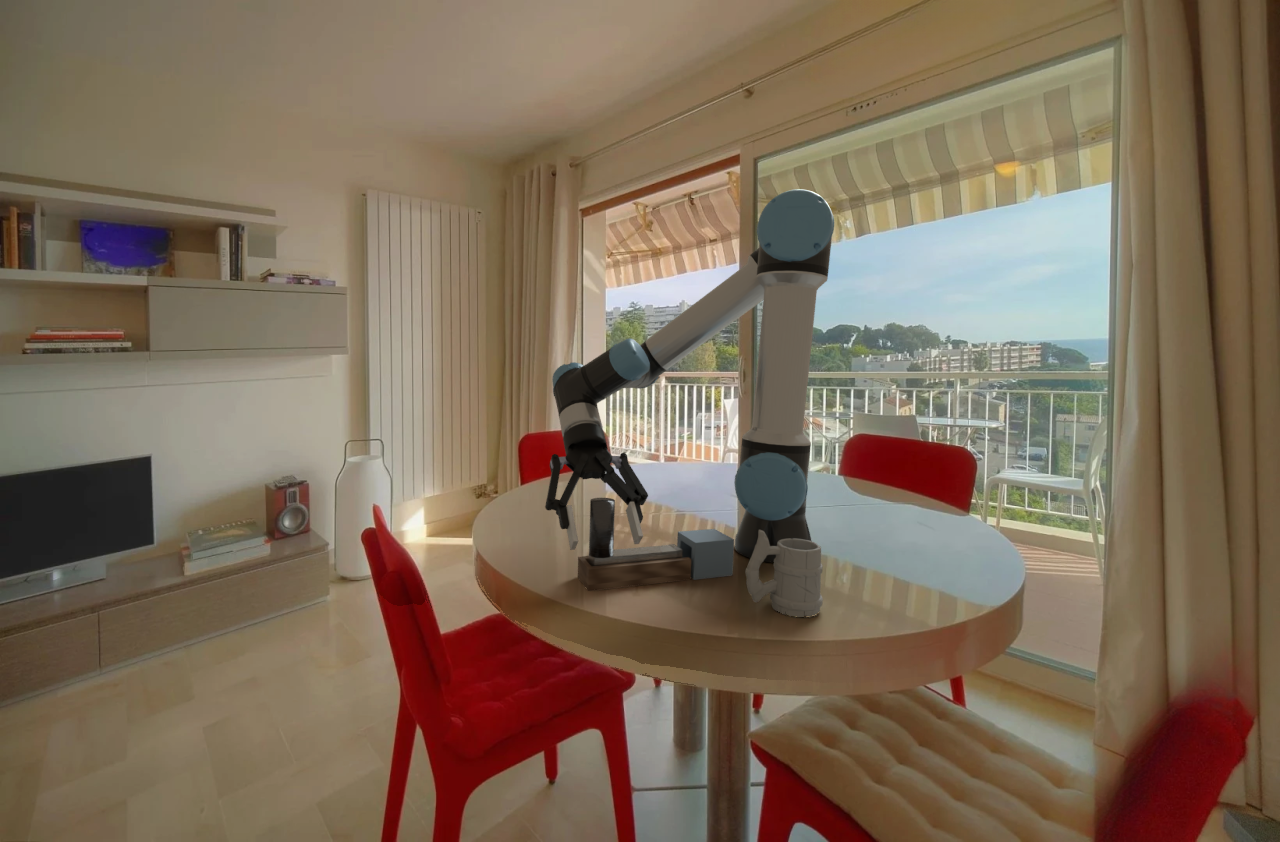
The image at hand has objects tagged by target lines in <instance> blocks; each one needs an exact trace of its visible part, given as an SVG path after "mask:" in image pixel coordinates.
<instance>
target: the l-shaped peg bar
mask: <svg viewBox="0 0 1280 842" xmlns="http://www.w3.org/2000/svg"><path fill="white" fill-rule="evenodd" d="M589 501H590V502H589V503H590V505H589V534H588V535H589V539H588V542H589V543H588V556H589V564H590V565H591V566H602V565H613V564H623V563H633V562H643V561H654V560H664V559H674V558H682V552H683V550H682V549H680V548H679V547H677V544H675V543H673V544H672V543H671V544H663V545H655V546H654V545H653V546H652V545H651V546H641V547H630V548H629V547H628V548H619V549H614V544H615V543H614V540H615V514H616V513H615V511H616V509H615V508H616V506H615V505H616V500H615V499H614V498H610V497H595V498H590V500H589Z"/></svg>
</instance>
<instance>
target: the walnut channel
mask: <svg viewBox="0 0 1280 842" xmlns="http://www.w3.org/2000/svg"><path fill="white" fill-rule="evenodd" d="M577 578H578V579H580V580H579V581H580V582H581V584H582V583H583V584H582V585H583V587H584V588H585V587H586V588H587V589H586V588H585V589H586V591H587V592H591V591H592V592H593V591H594V592H595V591H601V590H609V589H617V588H618V589H619V588H626V587H627V588H628V587H636V586H637V587H638V586H646V585H652V584H653V585H654V584H663V583H670V582H679V581H688V580H689V581H690V580H691V579H692V578H691V559H690V558H689V557H684V558H674V559H664V560H654V561H643V562H633V563H623V564H613V565H602V566H591V565H590V564H589V555H586V556H585V555H583V556H577Z"/></svg>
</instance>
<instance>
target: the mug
mask: <svg viewBox="0 0 1280 842" xmlns="http://www.w3.org/2000/svg"><path fill="white" fill-rule="evenodd" d="M767 555H776V558H775V559H774V563H773V568H774V572H773V573H774V575H773V579H770V580H768V581H765V582H762V581H761V579H760V567H761V565H762V563H763V562H765V561H764V559H765V558H766V556H767ZM823 567H824V566H823V564H822V547H821V546H820V545H819V544H818V543H816V542H815V541H813V540H811V541H809V540H803V539H796V538H794V539H791V538H789V539H782V540H779V541H778V542H777V546H770V544H769V540H768V538H767V536H766V534H765V532H764V531H762V530H759V532H758V540H757V544H756V545H755V548H754V551H753V554H752V556H751V558H749V561H748V564H747V567H746V568H745V577H746V581H745V583H746V587H747V588H746V589H747V591H748V594H749V595H750V596H751V598H752V601H753V602H754V603H758V602H760V601H761V600H762V598H763V597H764V596H767V595H768V594H769V598H770V601H771V607H772V609H773V610H774V611H776V612H777V611H778V612H777V613H779V612H780V614H781V613H782V614H781V615H786V614H787V615H790V616H789V617H791V616H797V617H804V616H812V615H815V614H817V613H818V612H819V611H821V607H822V606H823V601H824V598H823V596H822V594H821V585H822V584H821V580H822V579H821V576H822V573H823V570H824V569H823ZM819 613H820V612H819ZM787 615H786V616H787ZM804 618H805V617H804Z"/></svg>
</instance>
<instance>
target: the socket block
mask: <svg viewBox="0 0 1280 842" xmlns="http://www.w3.org/2000/svg"><path fill="white" fill-rule="evenodd" d="M676 546H677V547H679V548H680V549H682V550H683V552H682V558H684V557H689V558H690V559H691V579H692V580H695V581H697V580H703V579H704V580H705V579H712V578H713V579H714V578H720V577H731V576H733V570H734V568H733V567H734V552H735V551H734V550H735V538H732V537H731V536H728V535H727V534H725V533H724V532H721V531H720V530H718V529H716V528H708V529H696V530H695V529H694V530H693V529H692V530H682V531H677V543H676Z"/></svg>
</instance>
